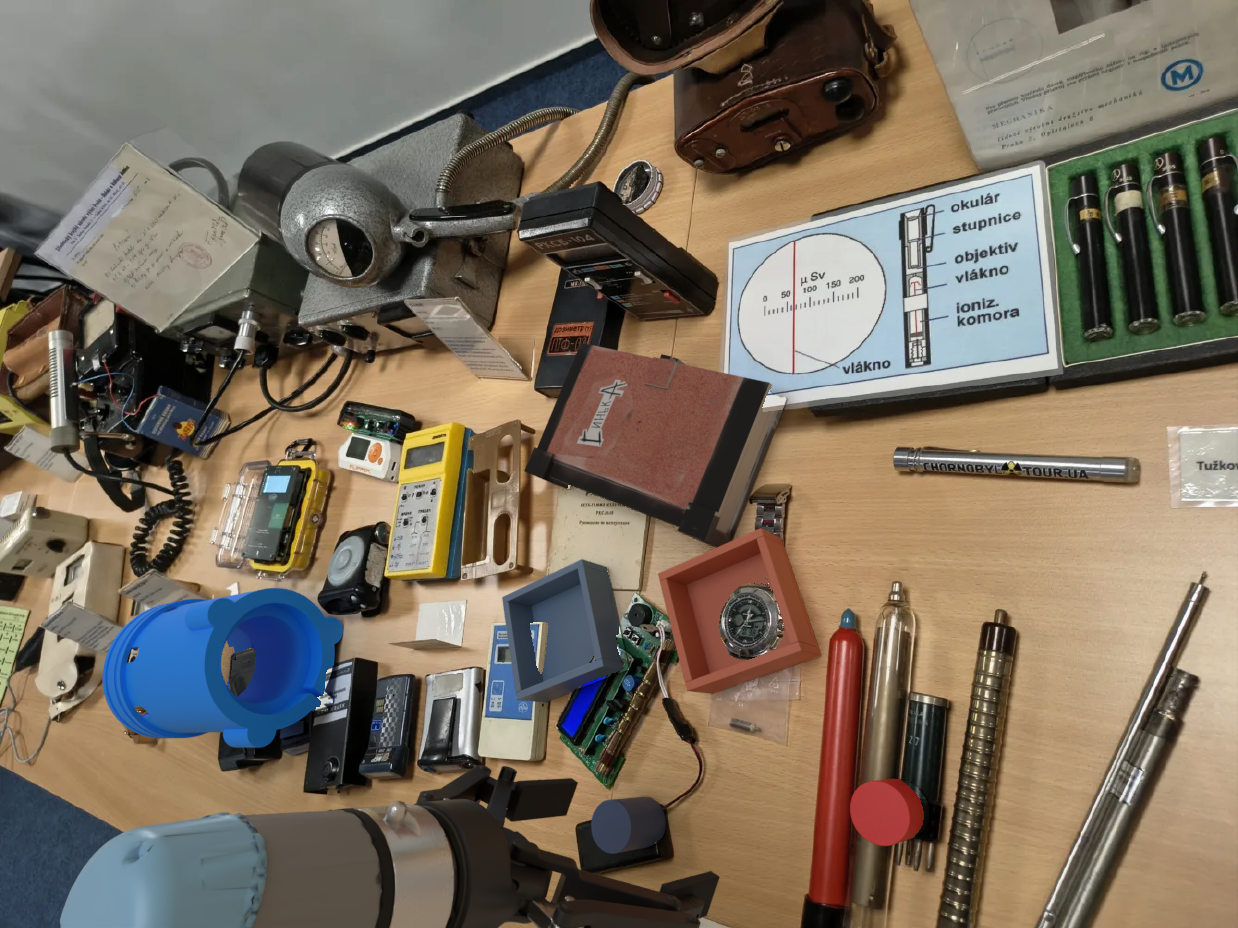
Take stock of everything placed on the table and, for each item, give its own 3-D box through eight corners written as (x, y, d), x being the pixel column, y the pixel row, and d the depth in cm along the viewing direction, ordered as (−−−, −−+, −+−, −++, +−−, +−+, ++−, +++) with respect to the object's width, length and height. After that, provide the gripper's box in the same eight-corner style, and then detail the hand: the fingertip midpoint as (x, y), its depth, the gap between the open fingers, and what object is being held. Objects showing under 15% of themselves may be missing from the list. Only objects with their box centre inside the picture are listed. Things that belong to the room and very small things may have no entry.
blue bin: (630, 669, 79) (603, 665, 75) (545, 702, 84) (516, 700, 80) (607, 567, 84) (581, 558, 80) (529, 603, 89) (501, 596, 85)
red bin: (821, 655, 68) (801, 650, 64) (711, 694, 73) (686, 691, 69) (782, 538, 73) (761, 527, 70) (682, 581, 78) (657, 573, 74)
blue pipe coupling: (269, 658, 123) (187, 770, 110) (165, 570, 113) (60, 681, 99) (368, 647, 110) (289, 772, 97) (260, 546, 100) (154, 670, 86)
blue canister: (670, 841, 71) (635, 848, 66) (632, 851, 73) (596, 858, 68) (659, 791, 73) (625, 794, 68) (623, 802, 75) (587, 805, 70)
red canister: (939, 831, 59) (919, 838, 54) (885, 843, 61) (862, 851, 56) (917, 772, 61) (896, 774, 56) (865, 785, 63) (841, 788, 58)
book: (790, 392, 77) (770, 374, 74) (727, 551, 76) (704, 541, 72) (604, 352, 94) (580, 335, 90) (551, 482, 93) (524, 471, 89)
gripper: (613, 955, 33) (800, 885, 49) (321, 712, 48) (537, 721, 65) (551, 1133, 32) (762, 1001, 48) (275, 827, 47) (505, 807, 64)
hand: (633, 841), depth 56 cm, fingers open, 13 cm apart
